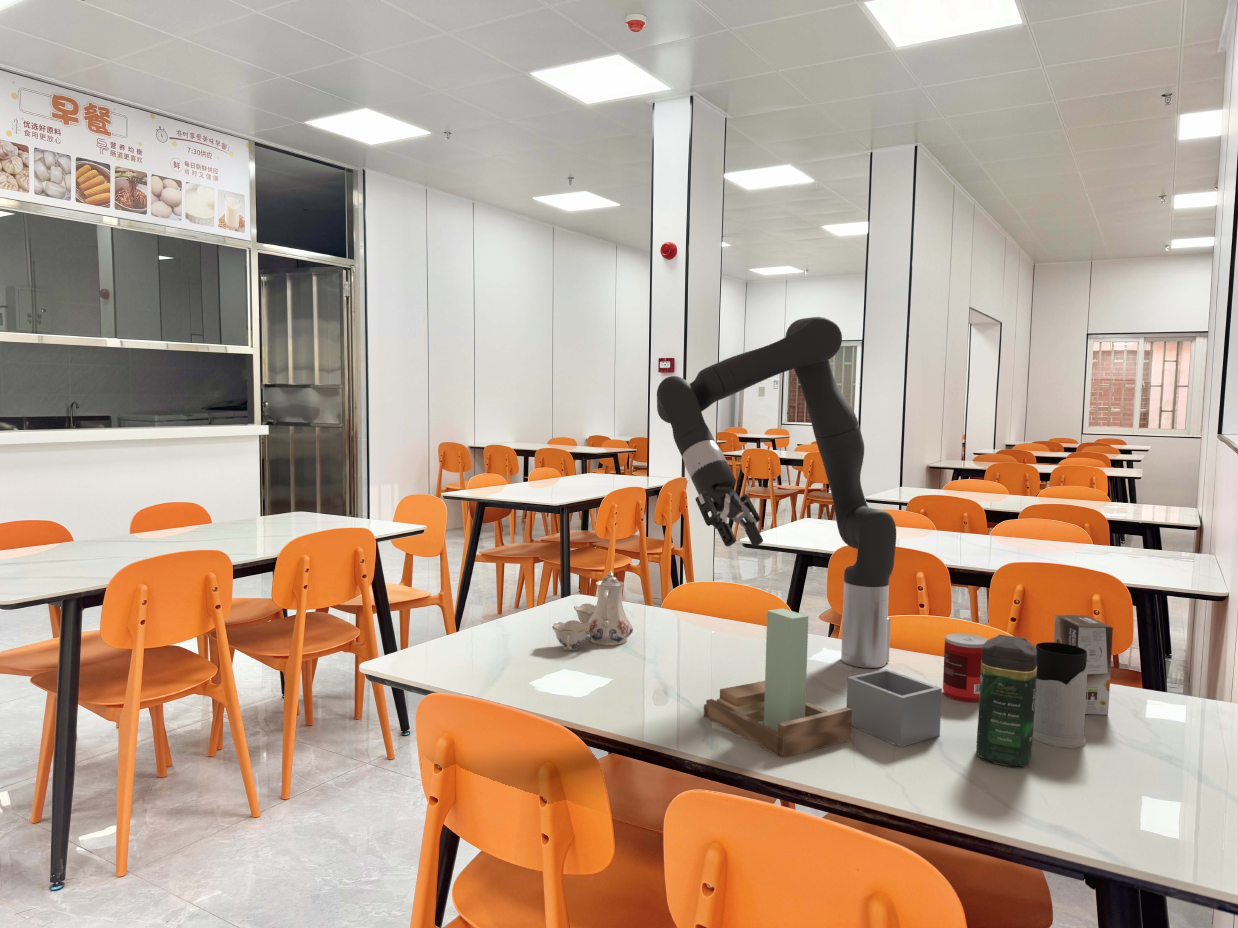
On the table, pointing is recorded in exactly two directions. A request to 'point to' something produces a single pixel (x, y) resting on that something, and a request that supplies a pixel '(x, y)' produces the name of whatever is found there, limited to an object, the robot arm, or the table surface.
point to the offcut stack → (745, 699)
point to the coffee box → (1090, 655)
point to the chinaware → (598, 619)
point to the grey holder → (894, 707)
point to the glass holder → (1060, 695)
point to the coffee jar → (1007, 700)
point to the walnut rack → (787, 728)
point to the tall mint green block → (785, 667)
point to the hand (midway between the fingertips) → (745, 544)
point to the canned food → (962, 666)
